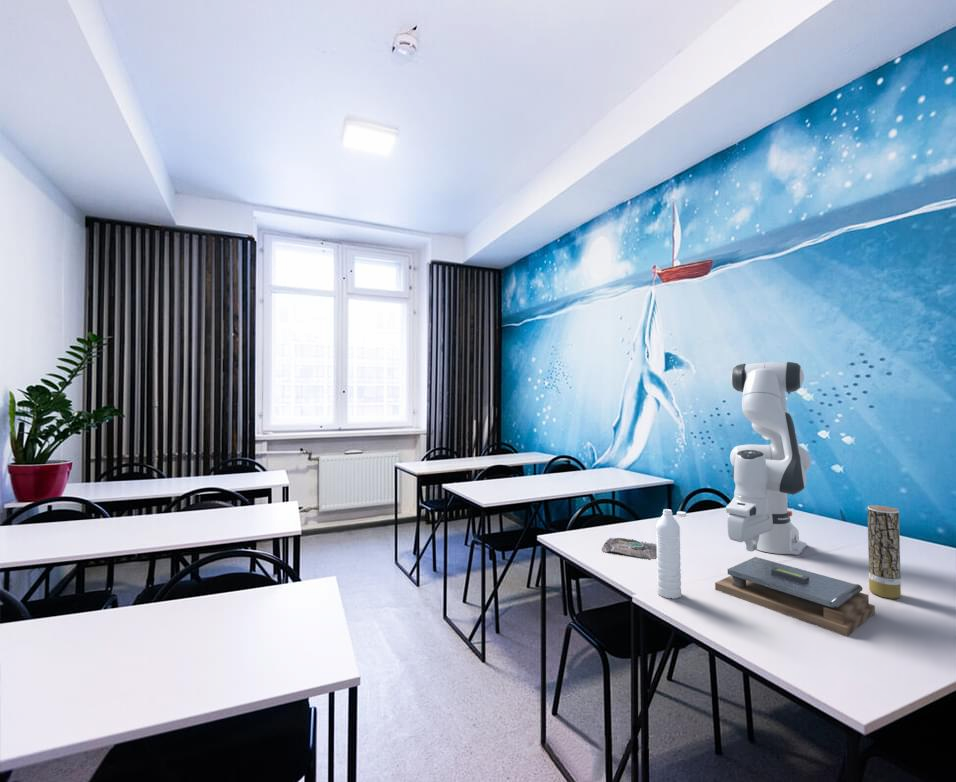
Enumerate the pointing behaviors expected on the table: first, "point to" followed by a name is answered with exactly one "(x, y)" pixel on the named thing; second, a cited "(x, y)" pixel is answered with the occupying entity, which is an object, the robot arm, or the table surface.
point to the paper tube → (884, 551)
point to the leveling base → (802, 605)
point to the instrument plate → (796, 582)
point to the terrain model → (630, 548)
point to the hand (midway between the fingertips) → (751, 550)
